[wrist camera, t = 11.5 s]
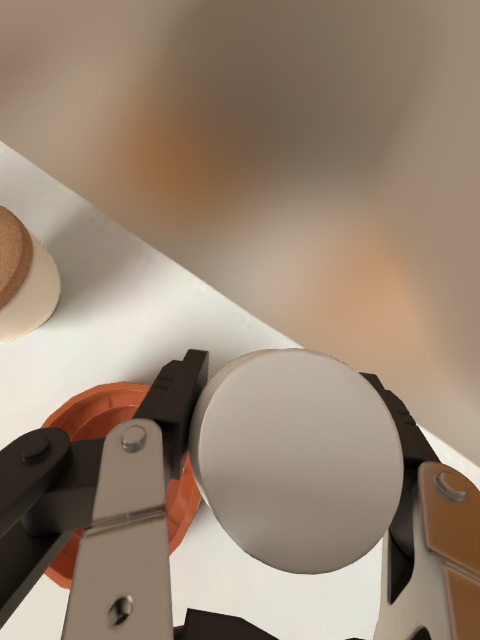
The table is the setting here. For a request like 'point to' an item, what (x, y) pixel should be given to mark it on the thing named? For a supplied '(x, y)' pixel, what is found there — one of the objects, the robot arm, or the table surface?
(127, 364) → the table surface
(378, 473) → the pill bottle
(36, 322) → the lidded bowl
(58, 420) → the terracotta bowl
